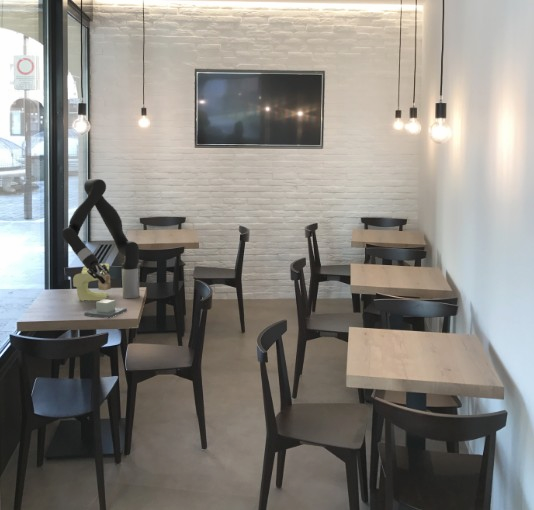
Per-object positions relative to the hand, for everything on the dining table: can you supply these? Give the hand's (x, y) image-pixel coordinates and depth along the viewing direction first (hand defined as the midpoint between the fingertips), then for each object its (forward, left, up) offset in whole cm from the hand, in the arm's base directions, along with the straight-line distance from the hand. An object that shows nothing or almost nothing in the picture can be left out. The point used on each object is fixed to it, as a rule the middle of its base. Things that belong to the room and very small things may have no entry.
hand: (107, 281), depth 382 cm
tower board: (+1, -1, -17) cm, 17 cm away
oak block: (+1, -1, -4) cm, 5 cm away
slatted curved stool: (+2, -40, -18) cm, 44 cm away
